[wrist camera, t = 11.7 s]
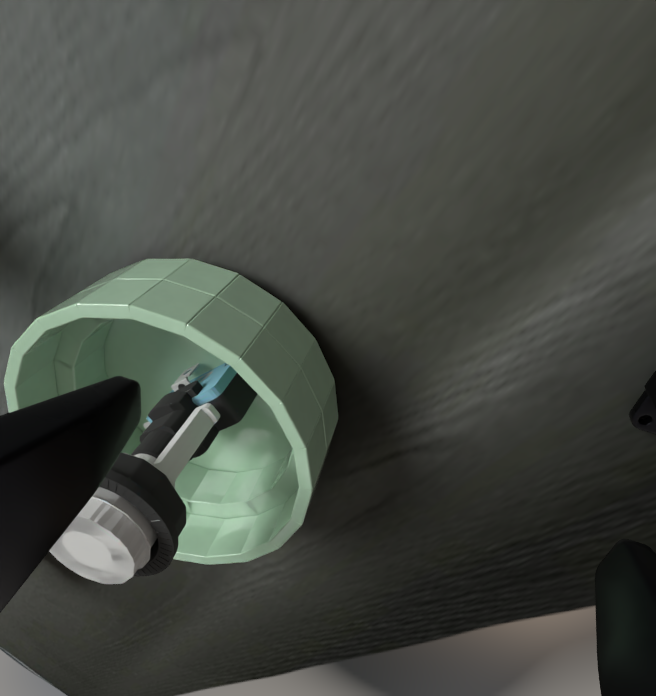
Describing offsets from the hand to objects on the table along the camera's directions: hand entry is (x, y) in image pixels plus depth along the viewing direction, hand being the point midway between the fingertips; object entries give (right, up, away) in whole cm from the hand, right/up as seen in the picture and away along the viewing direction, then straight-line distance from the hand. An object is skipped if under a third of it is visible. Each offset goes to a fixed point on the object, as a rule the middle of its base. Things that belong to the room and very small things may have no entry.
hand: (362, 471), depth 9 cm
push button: (-7, 0, +17) cm, 18 cm away
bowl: (-7, 0, +17) cm, 18 cm away
